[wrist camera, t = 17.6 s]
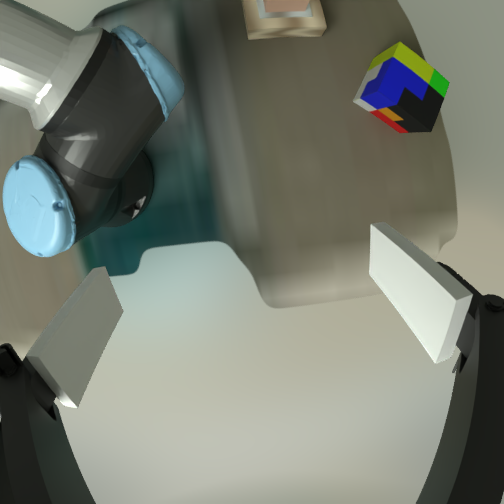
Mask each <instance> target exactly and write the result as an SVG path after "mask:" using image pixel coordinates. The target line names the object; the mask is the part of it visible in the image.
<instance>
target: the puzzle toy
mask: <svg viewBox="0 0 504 504" xmlns="http://www.w3.org/2000/svg"><path fill="white" fill-rule="evenodd" d="M448 86H449V82H448V81H447V80H446V79H445V78H444V77H443V76H442V75H441V74H440V73H439V72H437V71H436V70H435V69H434V68H433V67H431V66H430V65H429V64H428V63H427V62H426V61H424V60H423V59H422V58H421V57H419V56H418V55H417V54H416V53H414V52H413V51H412V50H410V49H409V48H408V47H406V46H405V45H404V44H402V43H401V42H398V43H396V44H395V45H393V46H392V47H390V48H389V49H387V50H385V51H384V52H382V53H381V54H379V55H378V56H376V57H375V58H373V61H372V63H371V65H370V67H369V69H368V71H367V73H366V75H365V77H364V79H363V81H362V83H361V85H360V88H359V90H358V92H357V94H356V96H355V98H354V100H353V102H355V103H356V104H358V105H360V106H361V107H363V108H364V109H366V110H367V111H369V112H370V113H372V114H373V115H375V116H376V117H378V118H379V119H381V120H382V121H384V122H385V123H387V124H388V125H389V126H391V127H392V128H394V129H395V130H396V131H398V132H399V133H410V132H431V131H432V129H433V126H434V124H435V121H436V119H437V116H438V113H439V111H440V108H441V105H442V103H443V100H444V97H445V94H446V92H447V89H448Z"/></svg>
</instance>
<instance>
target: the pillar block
mask: <svg viewBox="0 0 504 504" xmlns="http://www.w3.org/2000/svg"><path fill="white" fill-rule="evenodd" d="M309 1H310V0H263V2H264V7H265V12H266V13H267V12H290V11H305V10H306V8H307V5H308V3H309Z"/></svg>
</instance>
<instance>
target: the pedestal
mask: <svg viewBox="0 0 504 504" xmlns="http://www.w3.org/2000/svg"><path fill="white" fill-rule="evenodd" d="M242 6H243V11H244V17H245V23H246V29H247V35H248V40H253V39H263V38H277V37H321V36H322V34H323V33H324V31H325V30H326V28H327V26H326V22H325V18H324V14H323V10H322V6H321V3H320V0H310V1H309V3H308V5H307V8H306V10H305V11H290V12H267V13H266V12H265V7H264V2H263V0H242Z"/></svg>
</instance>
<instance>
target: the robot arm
mask: <svg viewBox="0 0 504 504" xmlns="http://www.w3.org/2000/svg"><path fill="white" fill-rule="evenodd" d="M183 95H184V82H183V80H182V78H181V76H180V75H179V73H178V72H177V71H176V69H175V68H174V67H173V66H172V65H171V63H170V62H169V61H168V60H167V59H166V58H165V57H164V56H163V55H162V54H161V53H160V52H159V51H158V50H157V49H156V48H155V47H153V46H152V45H151V44H150V43H148V42H146V40H145V39H143V38H142V37H141V36H140V35H139V34H138V33H136V32H135V31H134V30H132V29H130V28H129V27H126V26H123V25H120V26H118V27H117V28H114V29H113V30H112V31H111V32H110V33H109V32H107V31H106V30H104V29H103V28H101V27H99V26H96V27H92V28H88V29H85V30H81V31H75V30H73V29H71V28H69V27H67V26H65V25H64V24H62V23H60V22H58V21H56V20H54V19H52V18H50V17H48V16H46V15H44V14H42V13H40V12H38V11H36V10H34V9H32V8H30V7H28V6H25V5H23V4H21V3H19V2H16V1H14V0H0V99H2V100H5V101H8V102H11V103H13V104H16V105H19V106H22V107H24V108H27V109H28V111H29V112H30V116H31V119H32V122H33V126H34V128H35V129H37V130H40V131H43V132H44V134H43V136H42V138H41V140H40V142H39V144H38V146H37V148H36V150H35V152H34V154H33V155H27V156H24V157H22V158H21V159H20V160H19V161H17V162H15V163H14V164H13V165H12V166H11V168H10V169H9V171H8V173H7V175H6V178H5V182H4V187H3V206H4V212H5V215H6V218H7V222H8V225H9V227H10V229H11V232H12V233H13V235H14V237H15V238H16V240H17V241H18V242H19V243H20V244H21V245H22V247H24V248H25V249H26V250H27V251H29V252H30V253H32V254H34V255H36V256H40V257H43V256H44V257H50V256H53V255H56V254H58V253H60V252H63V251H65V250H68V249H69V248H70V247H71V246H72V245H73V244H75V243H76V242H78V241H79V240H81V239H82V238H84V237H86V236H87V235H89V234H90V233H92V232H93V231H95V230H97V229H98V228H100V227H118V226H122V225H125V224H127V223H129V222H130V221H132V220H134V219H135V218H136V217H138V216H139V215H140V214H141V213H142V212H143V211H144V209H145V208H146V206H147V205H148V203H149V201H150V198H151V195H152V191H153V172H152V168H151V165H150V162H149V160H148V158H147V156H146V155H145V153H144V152H143V151H142V149H143V147H144V146H145V145H146V143H147V142H148V141H149V139H150V138H151V137H152V135H153V134H154V133H155V131H156V130H157V129H158V127H159V126H160V125H161V124H162V122H163V121H164V122H165V121H167V119H168V117H169V114H170V112H171V111H172V110H173V109H174V107H175V106H176V105H177V103H178V102H179V101H180V100H181V98H182V97H183ZM369 275H370V276H371V277H372V278H373V280H374V281H375V282H376V283H377V285H378V286H379V287H380V288H381V290H382V291H383V292H384V294H385V295H386V296H387V297H388V299H389V300H390V301H391V303H392V304H393V305H394V307H395V308H396V309H397V311H398V312H399V313H400V315H401V316H402V317H403V319H404V320H405V321H406V323H407V324H408V326H409V327H410V328H411V330H412V331H413V333H414V334H415V335H416V337H417V338H418V340H419V341H420V342H421V344H422V345H423V347H424V348H425V350H426V351H427V353H428V354H429V356H430V357H431V358H432V360H433V361H434V363H435V364H437V363H439V362H442V361H444V360H446V359H449V358H451V356H452V354H453V351H454V349H455V346H456V345H457V347H458V348H459V349H460V351H461V353H460V355H459V357H458V360H457V362H456V364H455V366H454V369H453V371H452V373H454V372H455V371H456V376H455V382H454V387H453V392H452V397H451V402H450V406H449V411H448V415H447V419H446V423H445V426H444V430H443V433H442V437H441V440H440V444H439V446H438V449H437V453H436V455H435V458H434V461H433V464H432V467H431V470H430V472H429V475H428V477H427V480H426V482H425V484H424V487H423V489H422V491H421V494H420V496H419V498H418V500H417V502H416V504H500V503H501V499H502V495H503V492H504V299H503V298H501V297H499V296H496V295H490V294H487V295H484V296H483V295H481V294H480V293H479V292H478V291H477V290H476V289H475V288H474V287H473V286H471V285H470V284H469V283H468V282H467V281H466V280H464V279H463V278H462V277H461V276H460V275H459V274H457V273H456V272H455V271H454V270H453V269H452V268H450V267H449V266H447V265H445V264H443V263H441V262H435V261H434V260H433V259H432V258H431V257H429V256H428V255H427V254H426V253H424V252H423V251H422V250H421V249H419V248H418V247H417V246H416V245H414V244H413V243H412V242H411V241H409V240H408V239H407V238H405V237H404V236H403V235H401V234H400V233H399V232H397V231H396V230H395V229H393V228H392V227H391V226H389V225H388V224H387V223H385V222H380V223H373V224H371V242H370V269H369ZM122 313H123V309H122V307H121V304H120V302H119V300H118V298H117V295H116V293H115V290H114V288H113V285H112V283H111V281H110V278H109V275H108V273H107V270H106V268H105V267H100V268H94V269H93V270H92V271H91V272H90V273H89V274H88V275H87V277H86V278H85V279H84V280H83V281H82V282H81V284H80V285H79V286H78V287H77V288H76V290H75V291H74V292H73V293H72V294H71V296H70V297H69V298H68V299H67V301H66V302H65V303H64V304H63V306H62V307H61V308H60V309H59V311H58V312H57V313H56V315H55V316H54V317H53V319H52V320H51V321H50V323H49V324H48V325H47V327H46V328H45V329H44V331H43V332H42V333H41V335H40V336H39V338H38V339H37V340H36V342H35V343H34V345H33V346H32V347H31V349H30V350H29V352H28V353H27V355H26V356H25V358H24V359H23V361H21V359H20V358H19V356H18V355H17V353H16V352H15V350H14V349H13V347H12V346H11V344H9V343H5V344H2V345H0V418H1V422H0V504H96V503H95V501H94V499H93V497H92V495H91V493H90V491H89V489H88V487H87V485H86V483H85V481H84V478H83V476H82V474H81V472H80V469H79V467H78V464H77V462H76V460H75V457H74V455H73V452H72V449H71V446H70V444H69V441H68V439H67V435H66V432H65V429H64V426H63V423H62V420H61V416H60V413H59V409H58V407H57V405H56V404H55V403H54V400H55V398H56V397H57V398H58V399H59V400H60V401H61V403H62V404H63V405H64V406H68V407H74V408H78V406H79V404H80V401H81V399H82V396H83V394H84V392H85V390H86V388H87V385H88V383H89V381H90V379H91V376H92V374H93V372H94V369H95V368H96V365H97V363H98V361H99V359H100V357H101V355H102V353H103V350H104V349H105V347H106V345H107V342H108V340H109V339H110V337H111V334H112V332H113V331H114V329H115V327H116V325H117V323H118V321H119V319H120V317H121V315H122ZM456 369H457V370H456Z"/></svg>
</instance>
